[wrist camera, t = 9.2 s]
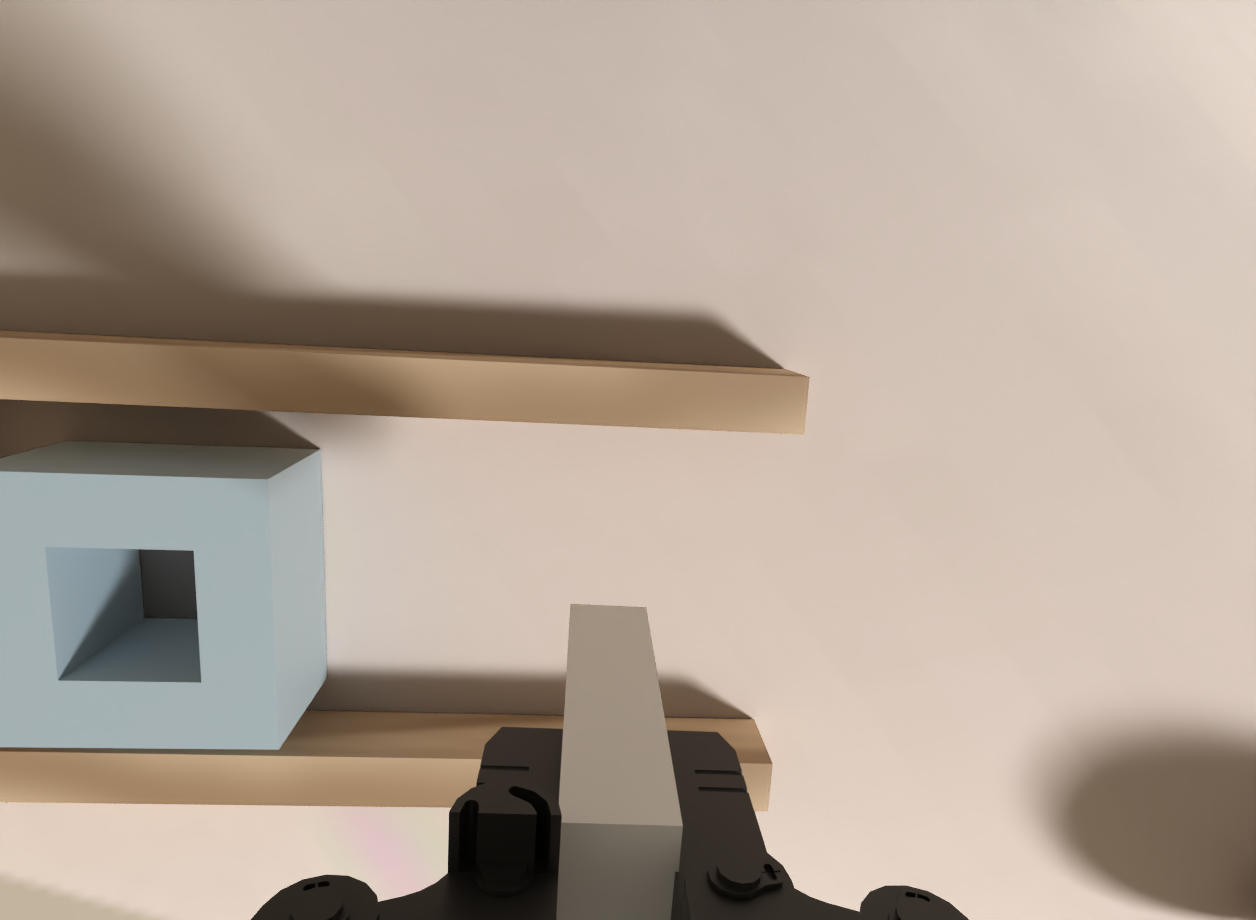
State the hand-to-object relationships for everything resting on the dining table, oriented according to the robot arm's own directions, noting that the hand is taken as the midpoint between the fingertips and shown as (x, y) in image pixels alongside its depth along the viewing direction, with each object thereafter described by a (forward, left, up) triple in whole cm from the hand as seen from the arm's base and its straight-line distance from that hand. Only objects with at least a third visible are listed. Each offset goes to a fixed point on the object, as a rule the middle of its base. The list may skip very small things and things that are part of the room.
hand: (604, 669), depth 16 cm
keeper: (+1, -11, -8) cm, 14 cm away
